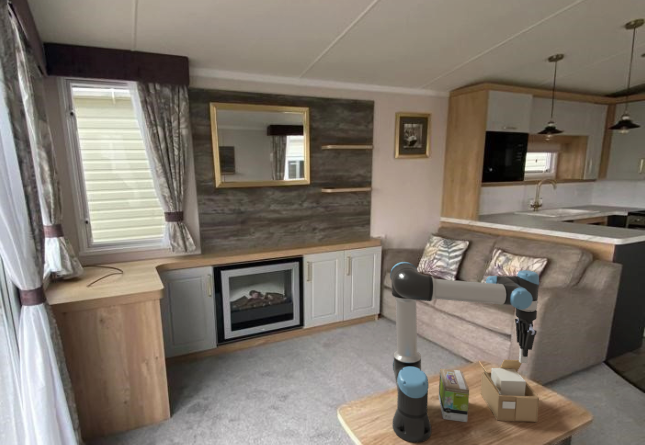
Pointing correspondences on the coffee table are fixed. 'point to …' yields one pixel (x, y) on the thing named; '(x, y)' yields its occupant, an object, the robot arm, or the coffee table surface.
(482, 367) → the flap left
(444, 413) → the tea box
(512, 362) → the flap far
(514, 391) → the carton
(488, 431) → the coffee table surface
